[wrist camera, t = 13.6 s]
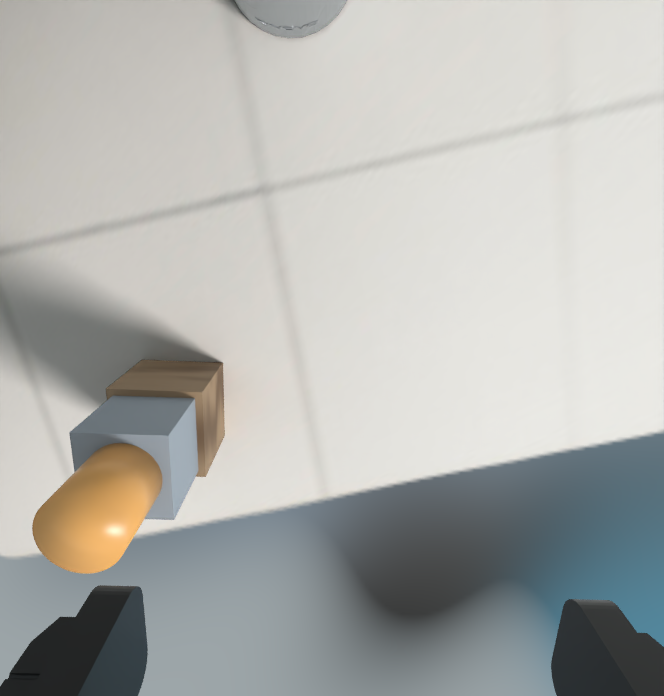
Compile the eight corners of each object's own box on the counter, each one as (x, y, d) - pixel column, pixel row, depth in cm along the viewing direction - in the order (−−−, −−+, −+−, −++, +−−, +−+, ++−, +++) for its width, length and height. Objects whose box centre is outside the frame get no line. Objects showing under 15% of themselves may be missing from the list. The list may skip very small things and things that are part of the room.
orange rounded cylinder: (80, 442, 29) (25, 493, 24) (159, 443, 29) (121, 494, 24) (90, 510, 30) (40, 573, 25) (165, 510, 30) (130, 573, 25)
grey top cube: (112, 395, 35) (69, 432, 29) (195, 398, 35) (168, 435, 29) (119, 468, 36) (80, 517, 30) (198, 470, 36) (173, 519, 31)
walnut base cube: (142, 359, 41) (105, 388, 34) (222, 362, 41) (202, 392, 35) (147, 432, 43) (114, 473, 36) (224, 435, 43) (205, 476, 36)
